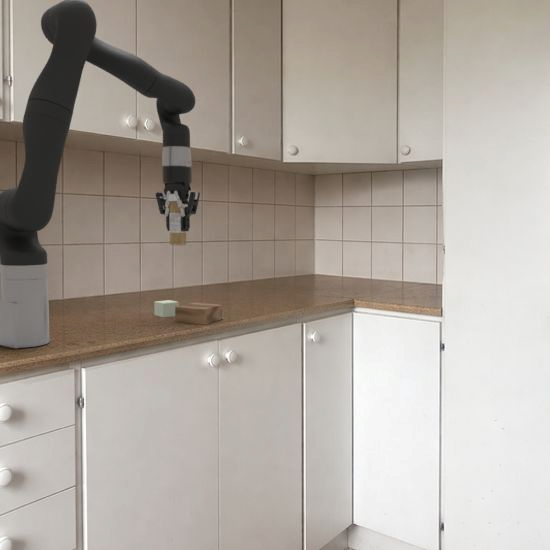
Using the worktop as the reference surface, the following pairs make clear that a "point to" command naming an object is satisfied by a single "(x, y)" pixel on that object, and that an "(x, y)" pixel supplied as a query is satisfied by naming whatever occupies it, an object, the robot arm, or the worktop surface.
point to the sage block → (165, 308)
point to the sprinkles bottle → (176, 223)
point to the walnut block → (198, 313)
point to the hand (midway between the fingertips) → (178, 230)
